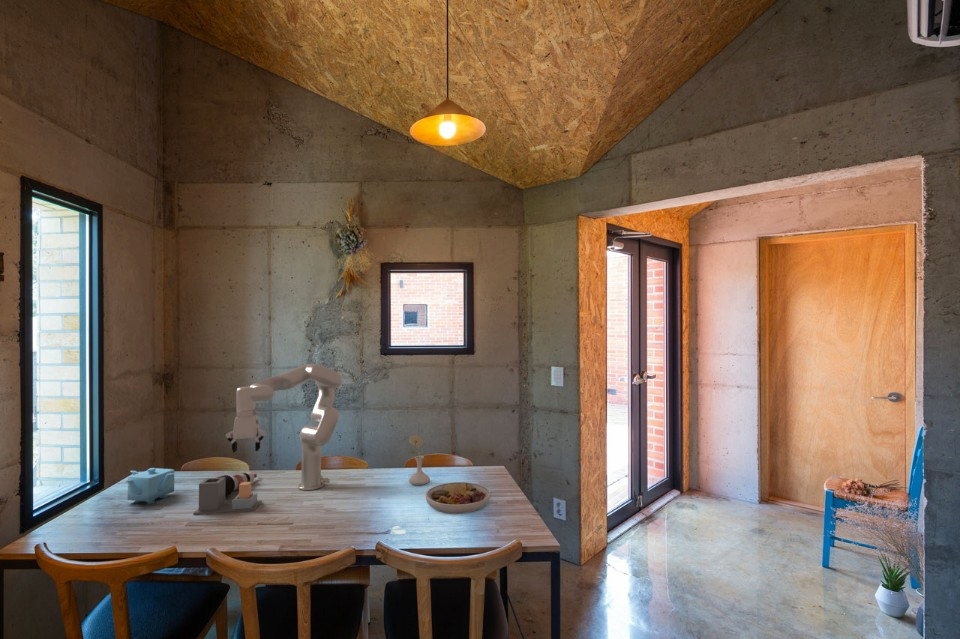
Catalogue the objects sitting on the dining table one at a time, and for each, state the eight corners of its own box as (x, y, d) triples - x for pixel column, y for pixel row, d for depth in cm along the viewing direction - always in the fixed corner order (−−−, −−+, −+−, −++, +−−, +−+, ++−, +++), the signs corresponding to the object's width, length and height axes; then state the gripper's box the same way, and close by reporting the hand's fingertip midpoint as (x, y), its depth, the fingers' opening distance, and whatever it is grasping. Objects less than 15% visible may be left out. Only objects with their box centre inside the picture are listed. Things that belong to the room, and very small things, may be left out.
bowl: (412, 504, 213) (412, 487, 213) (458, 487, 235) (458, 472, 235) (457, 522, 192) (457, 503, 192) (503, 502, 214) (503, 485, 214)
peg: (251, 503, 212) (251, 481, 212) (248, 506, 208) (248, 484, 208) (242, 503, 211) (242, 482, 211) (238, 507, 207) (239, 485, 207)
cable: (258, 488, 247) (267, 471, 248) (213, 506, 213) (224, 486, 214) (243, 479, 249) (252, 462, 249) (197, 494, 215) (207, 475, 216)
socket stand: (261, 502, 216) (261, 474, 216) (253, 511, 205) (253, 482, 205) (204, 505, 212) (204, 477, 212) (193, 515, 201) (193, 485, 201)
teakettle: (174, 490, 233) (174, 461, 233) (174, 501, 217) (174, 470, 218) (127, 498, 222) (127, 467, 223) (123, 510, 207) (124, 477, 207)
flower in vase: (434, 482, 243) (434, 434, 243) (420, 488, 233) (420, 439, 234) (415, 478, 250) (415, 432, 250) (401, 484, 240) (401, 436, 241)
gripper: (268, 411, 215) (268, 447, 215) (228, 413, 213) (229, 449, 213) (263, 414, 208) (263, 452, 208) (222, 416, 205) (222, 454, 205)
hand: (246, 451), depth 210 cm, fingers open, 9 cm apart
